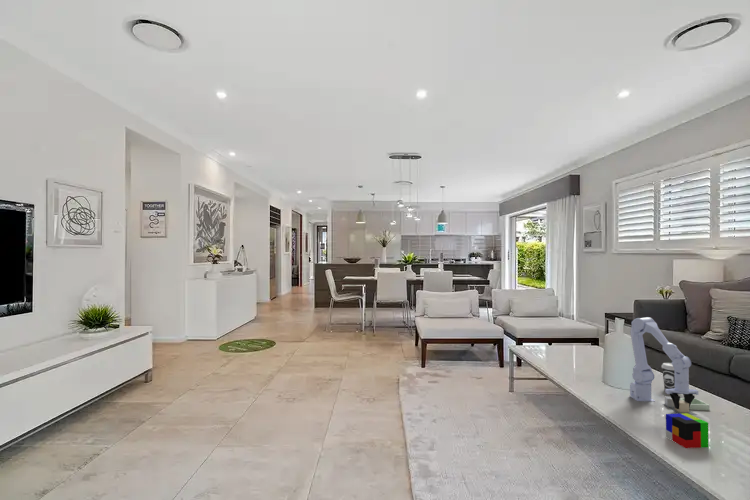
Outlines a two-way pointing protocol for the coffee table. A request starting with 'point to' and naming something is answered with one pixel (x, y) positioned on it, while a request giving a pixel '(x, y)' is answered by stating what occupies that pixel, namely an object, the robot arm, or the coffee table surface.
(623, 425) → the coffee table surface
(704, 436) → the puzzle toy
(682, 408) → the tan wooden cube
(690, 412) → the slate mat
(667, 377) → the coffee cup
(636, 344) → the robot arm
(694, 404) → the green bin
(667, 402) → the matte grey cube
